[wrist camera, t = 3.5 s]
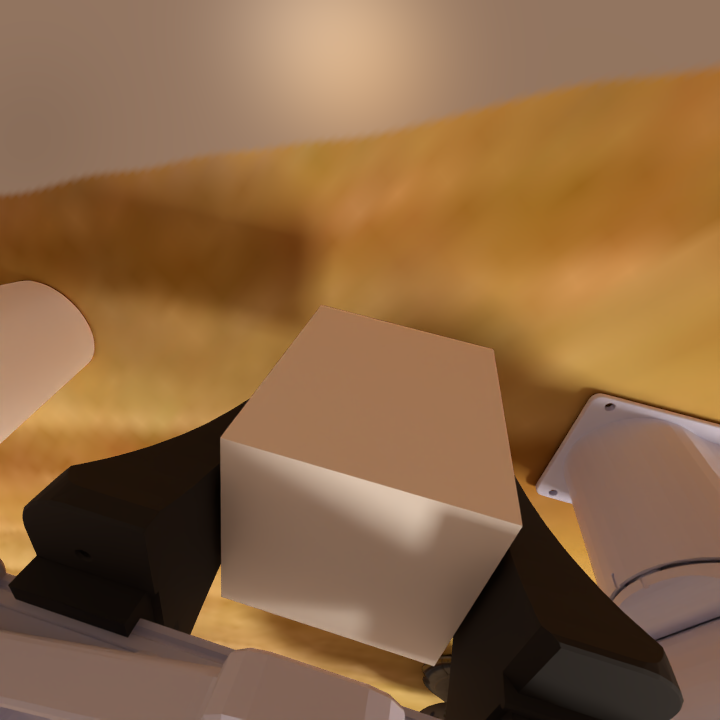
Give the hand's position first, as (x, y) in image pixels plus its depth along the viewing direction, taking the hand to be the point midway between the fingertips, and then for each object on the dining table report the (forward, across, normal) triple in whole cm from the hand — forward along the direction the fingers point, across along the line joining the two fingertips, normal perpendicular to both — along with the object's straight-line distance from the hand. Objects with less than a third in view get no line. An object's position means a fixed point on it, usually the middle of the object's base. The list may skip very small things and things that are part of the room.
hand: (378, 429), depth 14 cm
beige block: (+2, 0, 0) cm, 2 cm away
